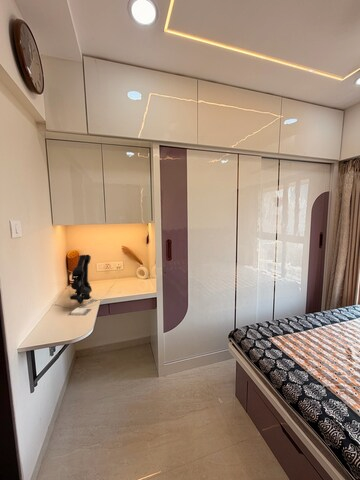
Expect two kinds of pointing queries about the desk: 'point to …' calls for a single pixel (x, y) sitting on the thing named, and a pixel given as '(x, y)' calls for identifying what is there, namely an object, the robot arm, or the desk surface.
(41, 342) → the desk surface
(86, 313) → the rubber mat
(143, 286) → the desk surface
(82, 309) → the glazed tile
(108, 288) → the desk surface
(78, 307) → the caliper
